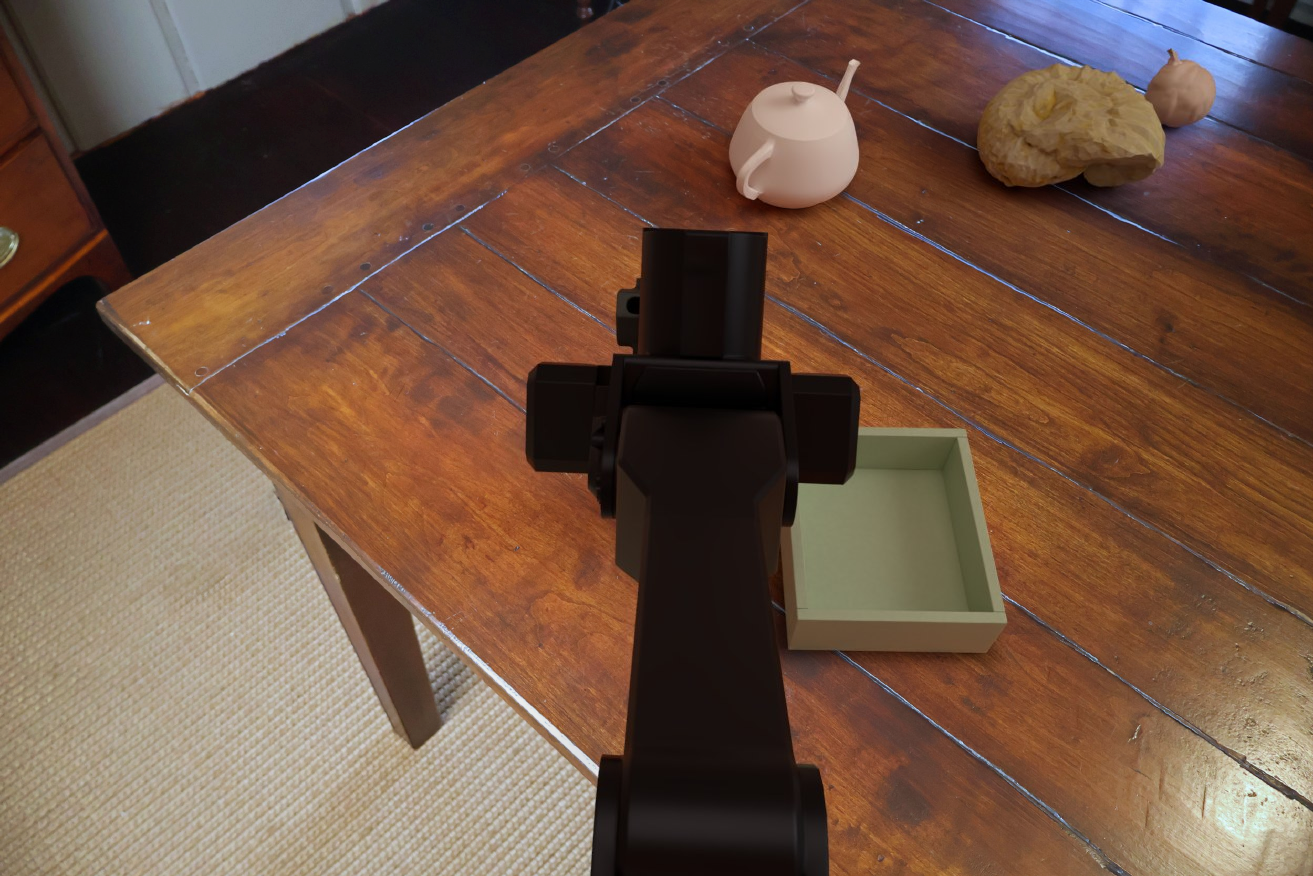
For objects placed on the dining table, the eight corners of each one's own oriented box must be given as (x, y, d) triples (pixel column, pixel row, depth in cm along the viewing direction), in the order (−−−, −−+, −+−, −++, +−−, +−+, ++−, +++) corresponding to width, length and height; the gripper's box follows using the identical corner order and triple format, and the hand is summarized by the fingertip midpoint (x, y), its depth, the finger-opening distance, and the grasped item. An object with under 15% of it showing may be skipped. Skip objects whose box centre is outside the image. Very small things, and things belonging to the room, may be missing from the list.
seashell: (1031, 129, 104) (935, 146, 96) (1084, 33, 96) (983, 43, 89) (1152, 221, 95) (1055, 247, 88) (1220, 123, 88) (1121, 143, 80)
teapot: (794, 103, 102) (808, 13, 93) (897, 150, 97) (921, 59, 89) (681, 202, 92) (685, 112, 84) (790, 259, 88) (805, 169, 80)
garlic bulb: (1153, 94, 104) (1187, 25, 97) (1209, 120, 101) (1248, 51, 95) (1123, 121, 101) (1156, 51, 94) (1180, 148, 98) (1218, 79, 92)
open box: (986, 653, 66) (1008, 623, 62) (788, 649, 66) (797, 619, 62) (948, 464, 75) (965, 428, 71) (774, 461, 75) (782, 424, 71)
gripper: (893, 286, 47) (839, 288, 62) (510, 270, 47) (551, 276, 62) (876, 510, 48) (827, 458, 64) (506, 494, 49) (547, 446, 64)
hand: (689, 406), depth 63 cm, fingers closed on pill bottle, 6 cm apart
